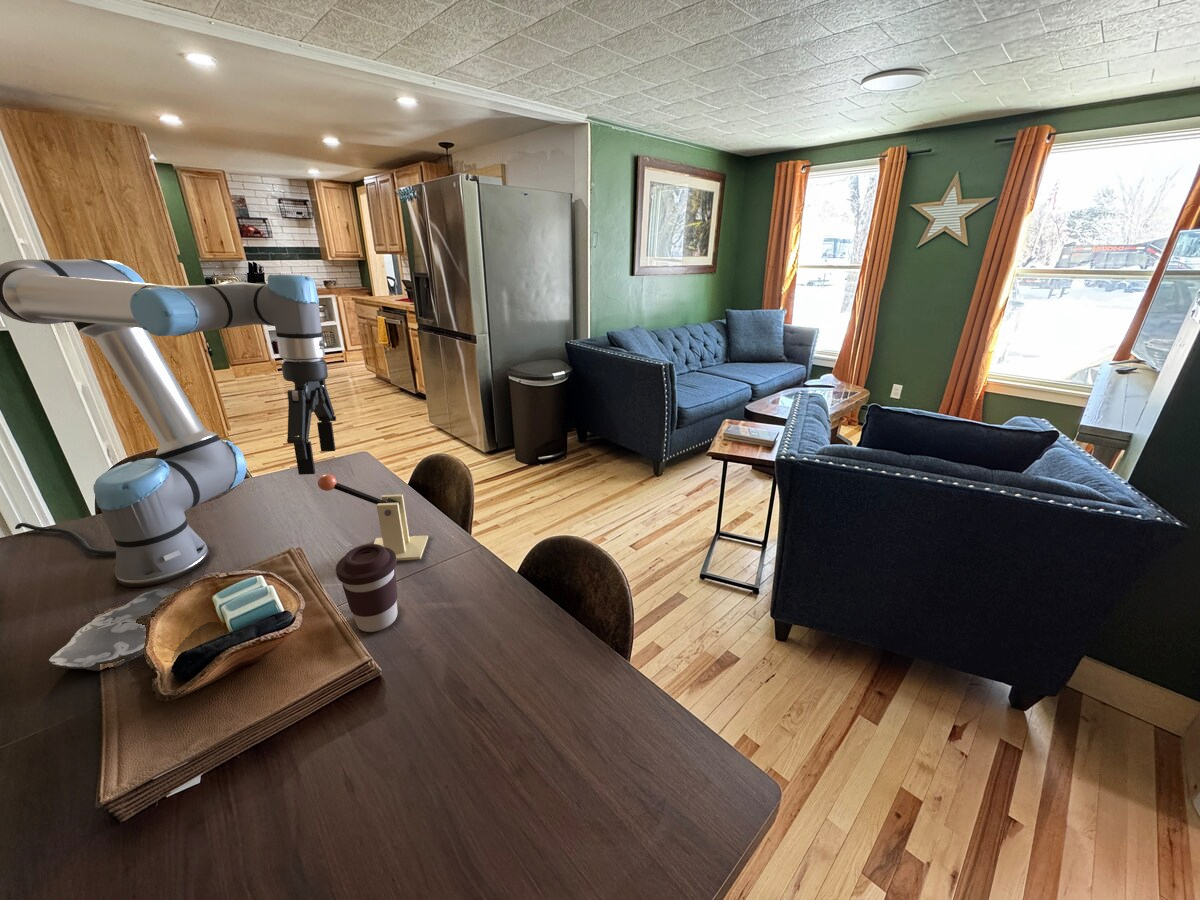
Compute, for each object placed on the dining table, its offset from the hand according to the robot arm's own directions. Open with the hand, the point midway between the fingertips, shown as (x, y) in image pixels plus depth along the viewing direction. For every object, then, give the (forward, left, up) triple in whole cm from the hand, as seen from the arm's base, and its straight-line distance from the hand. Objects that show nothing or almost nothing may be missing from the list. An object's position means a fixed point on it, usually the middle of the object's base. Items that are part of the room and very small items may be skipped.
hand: (318, 461), depth 98 cm
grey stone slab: (-13, -31, -25) cm, 42 cm away
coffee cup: (+22, -11, -25) cm, 35 cm away
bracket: (+9, +8, -25) cm, 28 cm away
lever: (+3, +4, -11) cm, 12 cm away
